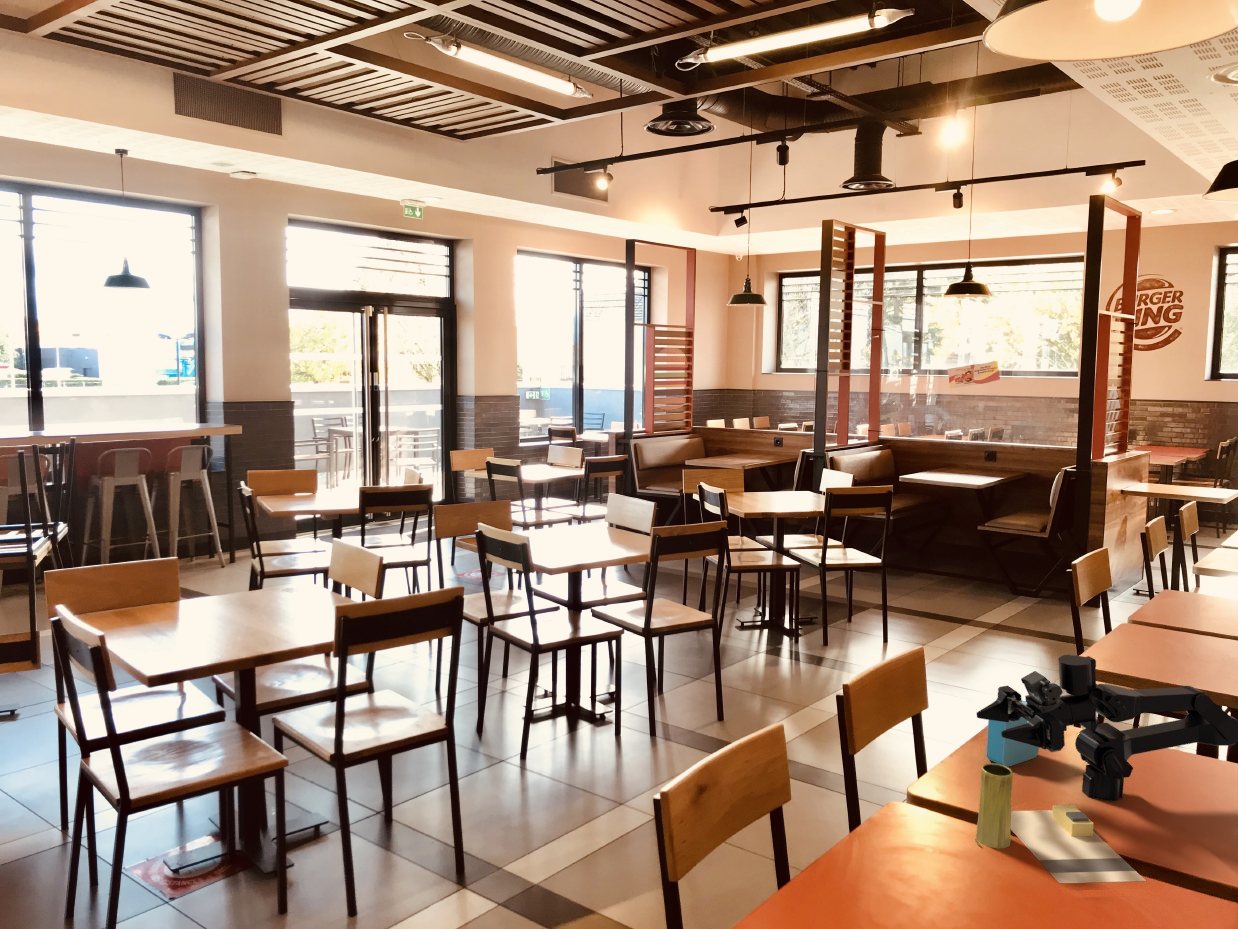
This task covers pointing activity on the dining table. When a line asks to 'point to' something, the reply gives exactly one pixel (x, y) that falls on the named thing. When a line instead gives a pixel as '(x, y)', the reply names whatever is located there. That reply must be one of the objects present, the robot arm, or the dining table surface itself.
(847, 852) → the dining table surface
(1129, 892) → the dining table surface
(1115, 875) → the subfloor panel
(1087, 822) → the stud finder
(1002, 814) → the vase
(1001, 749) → the blue rounded block
